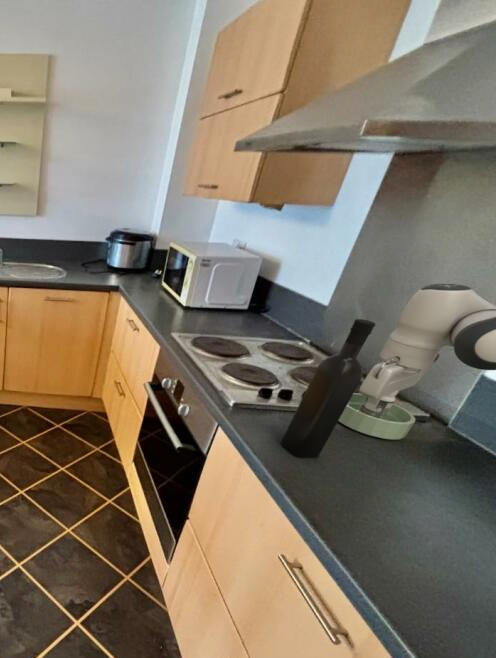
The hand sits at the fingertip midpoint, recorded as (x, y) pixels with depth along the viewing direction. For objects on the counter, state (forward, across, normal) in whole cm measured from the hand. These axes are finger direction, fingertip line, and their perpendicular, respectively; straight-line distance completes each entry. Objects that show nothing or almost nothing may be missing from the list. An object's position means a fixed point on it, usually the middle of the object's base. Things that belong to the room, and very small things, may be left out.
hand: (376, 406), depth 101 cm
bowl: (+5, 0, 0) cm, 5 cm away
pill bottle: (+3, 0, 0) cm, 3 cm away
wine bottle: (+6, -29, 0) cm, 30 cm away
